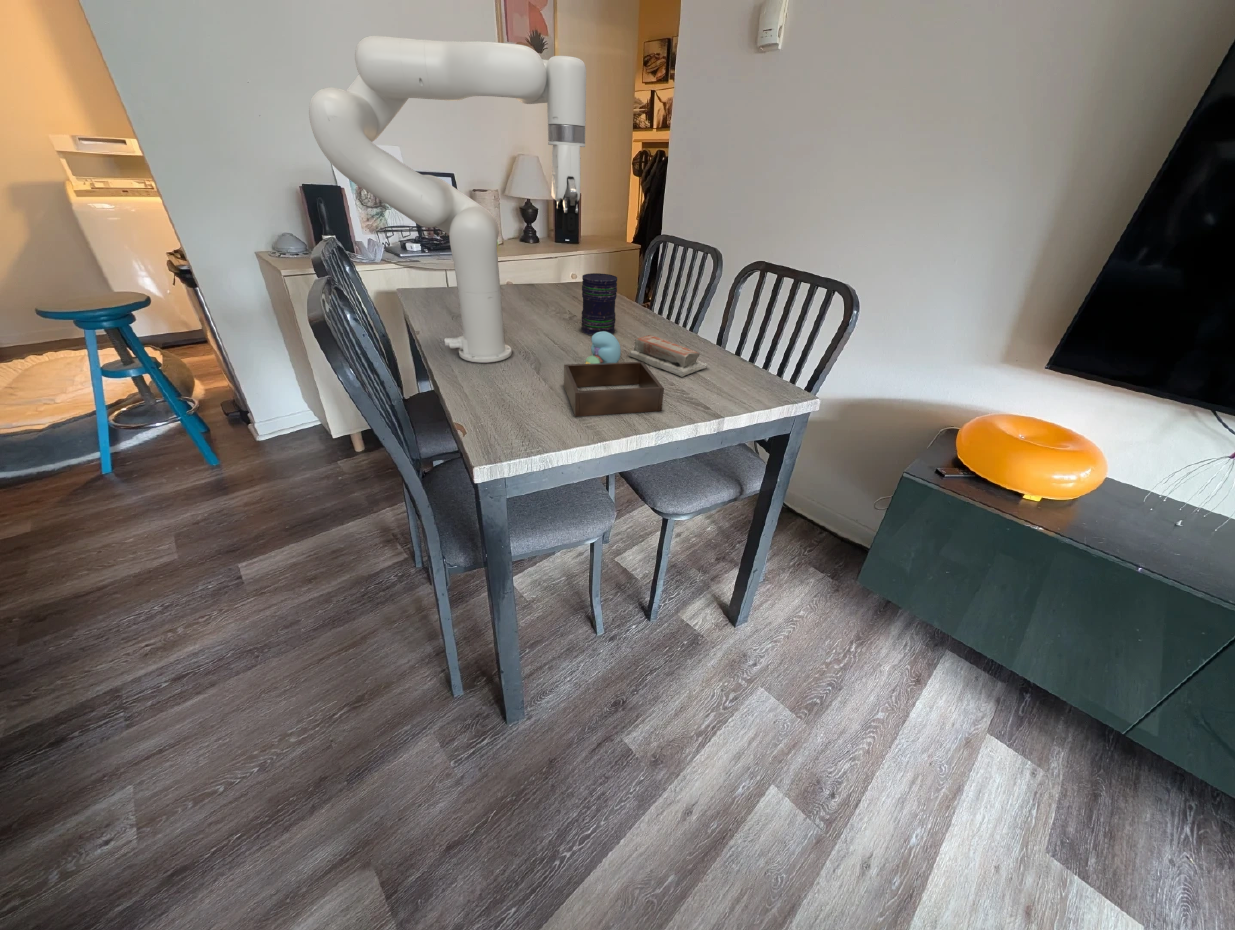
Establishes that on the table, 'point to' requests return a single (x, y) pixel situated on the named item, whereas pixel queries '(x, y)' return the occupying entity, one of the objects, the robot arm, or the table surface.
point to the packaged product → (666, 355)
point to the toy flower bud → (604, 349)
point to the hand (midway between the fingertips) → (566, 231)
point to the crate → (612, 399)
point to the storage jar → (598, 303)
